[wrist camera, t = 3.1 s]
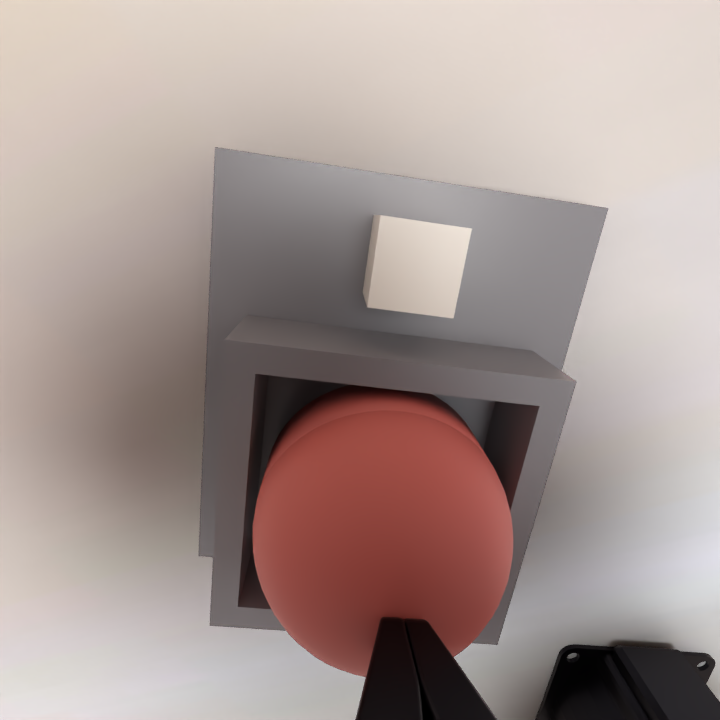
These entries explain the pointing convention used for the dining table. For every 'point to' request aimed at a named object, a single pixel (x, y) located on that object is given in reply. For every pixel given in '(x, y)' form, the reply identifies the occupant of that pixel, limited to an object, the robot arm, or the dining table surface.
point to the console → (380, 330)
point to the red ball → (380, 524)
